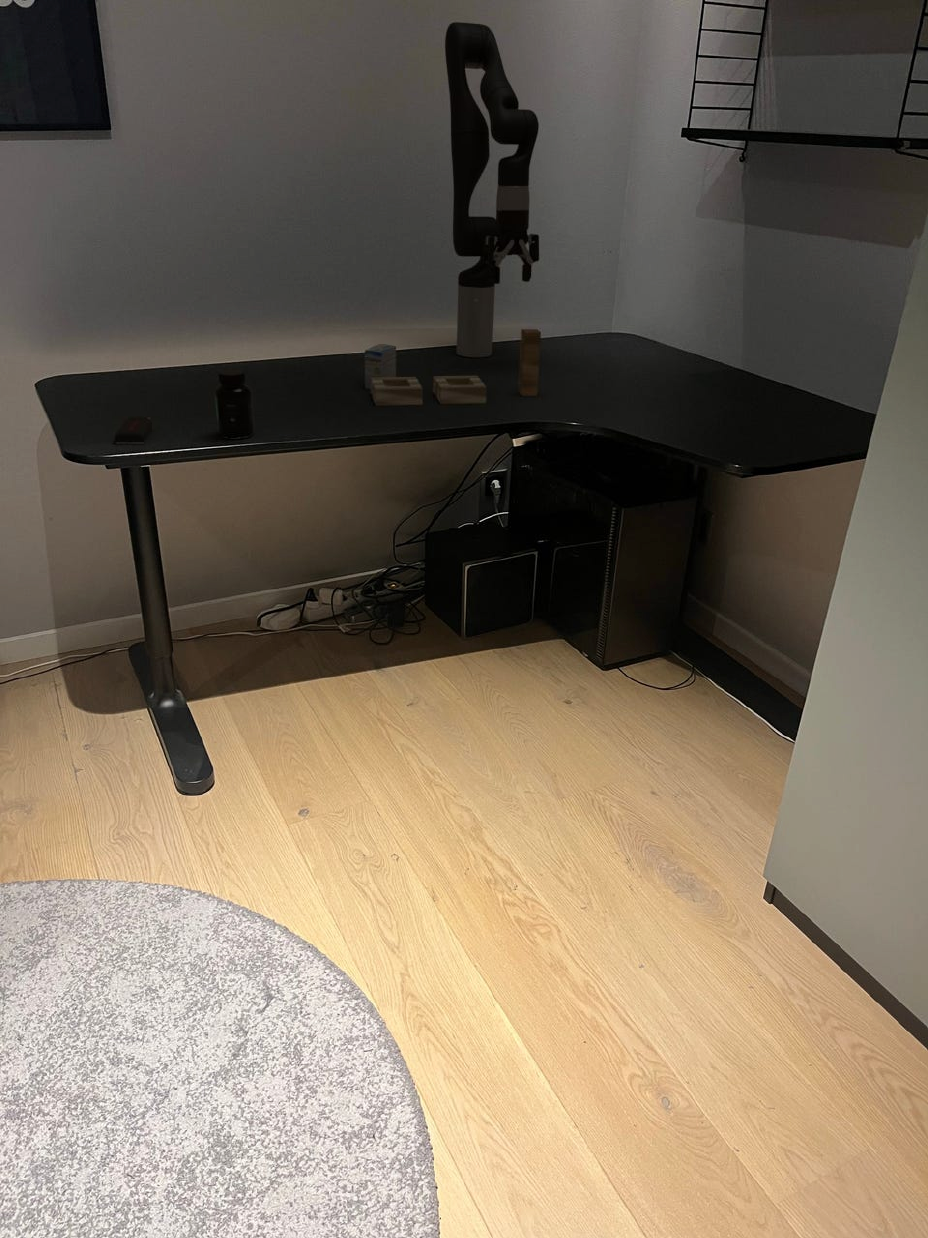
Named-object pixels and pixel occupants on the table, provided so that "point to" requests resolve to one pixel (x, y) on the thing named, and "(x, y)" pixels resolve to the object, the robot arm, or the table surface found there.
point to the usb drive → (134, 430)
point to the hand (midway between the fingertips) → (510, 282)
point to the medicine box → (380, 363)
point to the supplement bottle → (234, 405)
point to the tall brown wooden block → (529, 362)
